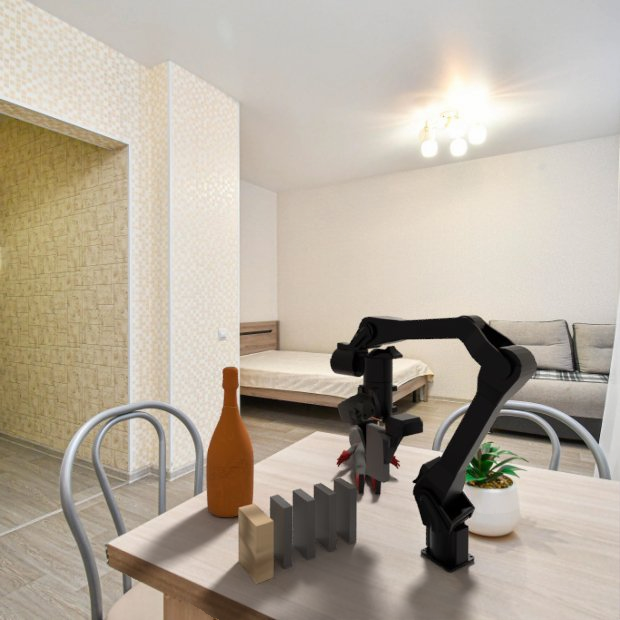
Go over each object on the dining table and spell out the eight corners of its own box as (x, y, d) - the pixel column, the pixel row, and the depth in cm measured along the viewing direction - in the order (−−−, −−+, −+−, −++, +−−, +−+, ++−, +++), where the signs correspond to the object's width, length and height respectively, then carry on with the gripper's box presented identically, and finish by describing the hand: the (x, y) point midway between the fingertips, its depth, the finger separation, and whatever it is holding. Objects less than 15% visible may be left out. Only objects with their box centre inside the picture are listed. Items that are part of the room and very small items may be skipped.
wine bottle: (263, 506, 91) (263, 366, 90) (227, 525, 83) (227, 372, 82) (233, 493, 97) (233, 362, 96) (196, 509, 89) (196, 367, 89)
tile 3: (336, 549, 75) (336, 493, 75) (329, 552, 74) (329, 495, 74) (320, 536, 79) (320, 482, 79) (313, 538, 78) (313, 484, 78)
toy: (336, 474, 96) (337, 416, 126) (335, 511, 98) (336, 445, 128) (407, 477, 95) (391, 417, 125) (405, 514, 97) (390, 447, 127)
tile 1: (389, 481, 82) (389, 429, 81) (383, 483, 81) (383, 430, 81) (372, 472, 86) (372, 423, 86) (366, 474, 85) (366, 424, 85)
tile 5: (292, 565, 70) (292, 506, 70) (283, 569, 69) (283, 508, 69) (278, 551, 74) (278, 494, 74) (269, 553, 74) (269, 496, 73)
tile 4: (315, 557, 73) (315, 499, 72) (307, 560, 72) (307, 501, 72) (300, 543, 77) (300, 488, 77) (292, 545, 76) (292, 490, 76)
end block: (273, 577, 67) (273, 521, 67) (256, 584, 66) (256, 526, 66) (254, 555, 73) (254, 503, 73) (238, 560, 72) (238, 507, 71)
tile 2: (356, 541, 77) (356, 487, 77) (349, 544, 77) (349, 489, 76) (340, 529, 82) (340, 477, 82) (333, 531, 81) (333, 479, 81)
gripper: (317, 377, 87) (317, 453, 87) (378, 393, 71) (378, 486, 71) (359, 372, 93) (359, 443, 93) (425, 386, 77) (425, 472, 77)
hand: (377, 459), depth 83 cm, fingers closed on tile 1, 5 cm apart
